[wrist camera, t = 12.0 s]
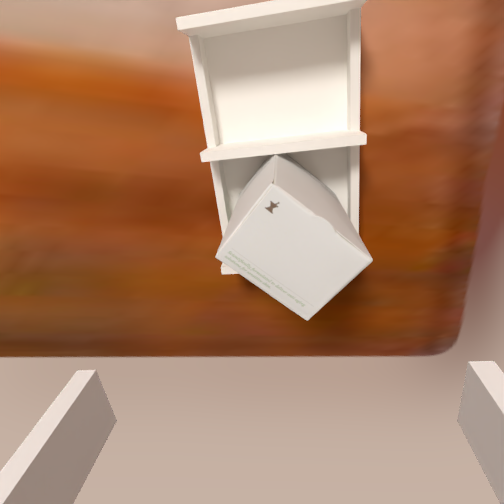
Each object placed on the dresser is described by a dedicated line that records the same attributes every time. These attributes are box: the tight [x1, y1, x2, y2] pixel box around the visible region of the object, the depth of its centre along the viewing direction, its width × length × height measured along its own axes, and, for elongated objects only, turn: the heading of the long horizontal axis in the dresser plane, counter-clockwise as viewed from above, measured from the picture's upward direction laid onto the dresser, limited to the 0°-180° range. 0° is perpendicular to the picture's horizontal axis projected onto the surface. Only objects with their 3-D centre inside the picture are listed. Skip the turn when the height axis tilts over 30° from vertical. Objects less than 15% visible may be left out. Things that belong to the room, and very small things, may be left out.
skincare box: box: [216, 153, 373, 321], centre depth 28 cm, size 8×7×16 cm
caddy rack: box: [176, 0, 367, 274], centre depth 32 cm, size 14×22×6 cm, turn 7°
